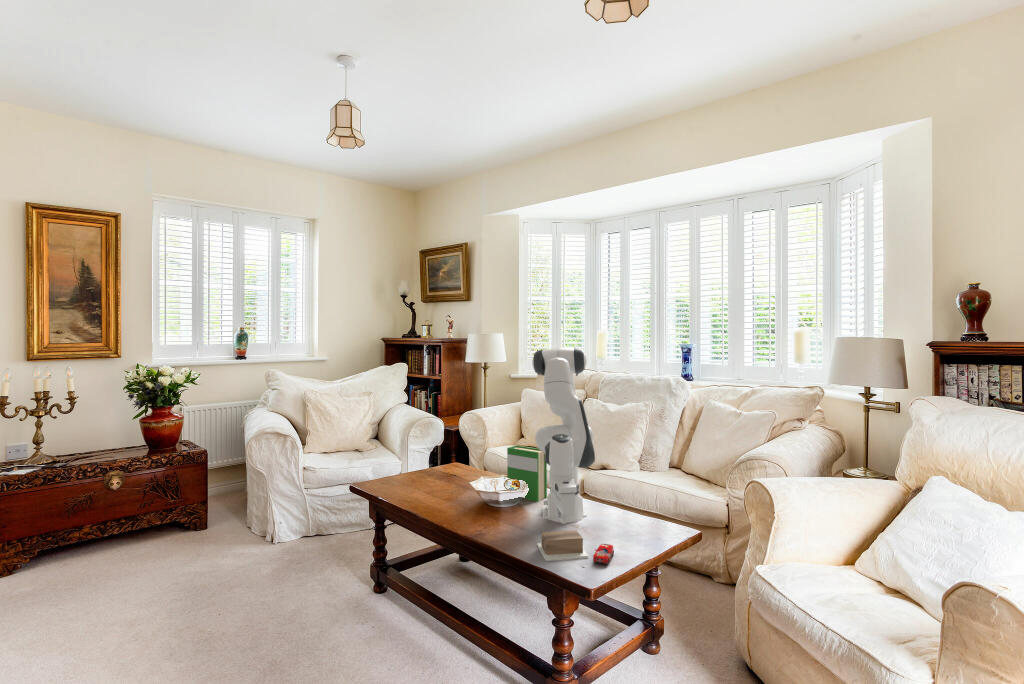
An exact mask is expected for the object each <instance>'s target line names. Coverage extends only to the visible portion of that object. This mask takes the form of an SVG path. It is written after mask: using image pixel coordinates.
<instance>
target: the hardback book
mask: <svg viewBox="0 0 1024 684" xmlns="http://www.w3.org/2000/svg"><path fill="white" fill-rule="evenodd" d="M506 449H507V451H506V454H507V457H506V458H507V462H506V463H507V470H506V471H507V472H506V473H507V474H506V475H507V478H510V479H517V480H523V481H525V482H526V484H528V488H529V491H528V493H527V495H526V496H525V499H524V500H529V501H533V502H536V503H538V502H540V501H542V500H544V499H547V496H548V478H547V477H548V476H547V475H548V473H547V471H548V470H547V469H548V468H547V467H548V464H547V463H546V462H545V454H544V453H543V452H542V451H541V450H540V449H539V448H538V447H537V448H536V447H530V446H529V447H528V446H523V445H517V444H516V445H512V446H510V447H509V446H508V447H507V448H506Z"/></svg>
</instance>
